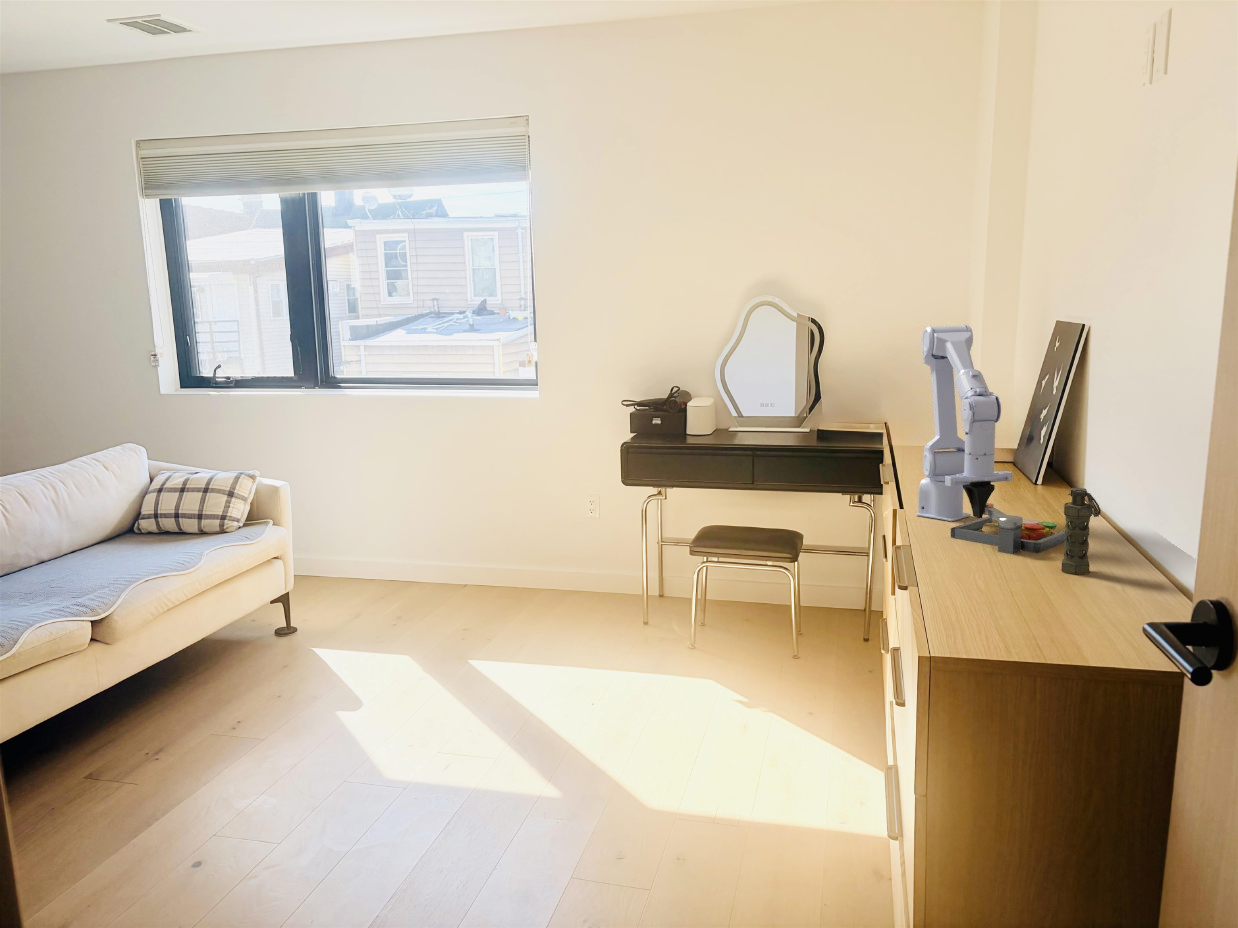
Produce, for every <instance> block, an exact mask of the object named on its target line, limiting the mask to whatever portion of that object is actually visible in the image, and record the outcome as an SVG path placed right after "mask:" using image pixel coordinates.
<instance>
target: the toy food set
mask: <svg viewBox="0 0 1238 928" xmlns="http://www.w3.org/2000/svg"><path fill="white" fill-rule="evenodd" d="M1057 527H1058V525H1057V523H1055V522H1049V521H1041V522H1039V521H1038V520H1035V519H1029V518H1028V519H1024V518H1023V527H1022V528H1021V539H1024V540H1029V541H1038V540H1041V539H1043V538H1046V537H1049V536H1052V535H1054V534H1056V533H1055V532H1053V531H1052V530H1055V529H1057ZM999 528H1000V527H998V522H995V521H994V522H992V523H986V524H984V525H983V528H982V529H981V531H982V532H983V533H989V534H995V535H999Z"/></svg>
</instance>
